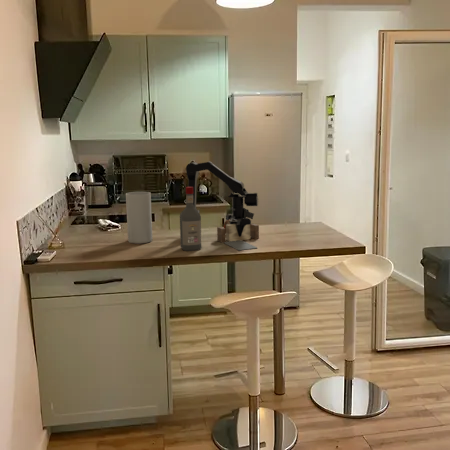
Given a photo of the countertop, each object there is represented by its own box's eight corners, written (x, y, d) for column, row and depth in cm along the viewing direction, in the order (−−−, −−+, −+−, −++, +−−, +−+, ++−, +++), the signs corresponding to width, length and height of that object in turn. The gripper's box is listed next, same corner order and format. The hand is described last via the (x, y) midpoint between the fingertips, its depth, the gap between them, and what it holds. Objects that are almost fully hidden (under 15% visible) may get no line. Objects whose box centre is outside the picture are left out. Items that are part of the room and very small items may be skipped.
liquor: (202, 250, 252) (201, 187, 246) (183, 251, 249) (182, 188, 243) (197, 245, 260) (196, 185, 254) (179, 247, 258) (178, 186, 252)
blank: (229, 241, 269) (229, 226, 268) (226, 239, 273) (225, 224, 271) (250, 239, 274) (250, 224, 272) (246, 237, 278) (246, 222, 276)
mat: (238, 250, 250) (238, 249, 250) (223, 242, 266) (223, 242, 266) (257, 248, 254) (257, 247, 254) (241, 240, 270) (241, 240, 270)
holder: (221, 242, 267) (221, 229, 265) (217, 240, 272) (217, 227, 271) (258, 238, 275) (258, 225, 273) (253, 236, 280) (253, 223, 279)
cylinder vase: (123, 242, 269) (120, 194, 264) (136, 237, 280) (134, 191, 275) (144, 244, 264) (142, 195, 259) (156, 239, 275) (155, 192, 271)
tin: (227, 236, 282) (227, 220, 280) (222, 235, 284) (222, 220, 282) (243, 231, 293) (243, 216, 292) (238, 230, 295) (238, 216, 294)
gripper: (260, 207, 265) (260, 237, 268) (244, 202, 281) (244, 230, 284) (240, 209, 260) (240, 239, 263) (225, 203, 277) (225, 232, 280)
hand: (238, 235), depth 273 cm, fingers closed on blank, 4 cm apart
